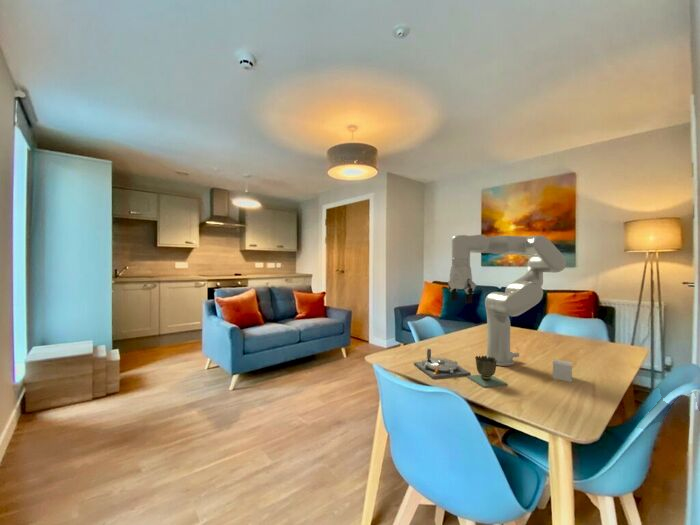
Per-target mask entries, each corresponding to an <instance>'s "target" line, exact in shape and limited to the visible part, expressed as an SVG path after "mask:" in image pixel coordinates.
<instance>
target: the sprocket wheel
mask: <svg viewBox="0 0 700 525" xmlns="http://www.w3.org/2000/svg"><path fill="white" fill-rule="evenodd" d="M421 362H422V364H424V368H425V369H427V368H428V369H430V370H433V371H435V372H449V373H453V371H456V370H460V367H461V365H458V361H457V360H451V359H448V358H446V357H441V358H440V357H439V358H438V357H432V349H431V348H427V349H426V359H422V361H421Z"/></svg>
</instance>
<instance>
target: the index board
mask: <svg viewBox="0 0 700 525" xmlns="http://www.w3.org/2000/svg"><path fill="white" fill-rule="evenodd" d="M413 365H414V366H416V367H417V368H418V369H419V370H421V372H423V373H424V374H425V375H427V376H428V377H430V378H431V379H433V380H434V379H442V378H443V379H444V378H453V377H463V376H464V377H465V376H466V377H467V376H470V375H471V372H470V371H469V370H466V369H465V368H463V367H462V366H460V370H456V371H453V373H449V372H435V371H433V370H430V369H428V368H427V369H425V368H424V364H422V361H414V362H413Z"/></svg>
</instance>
